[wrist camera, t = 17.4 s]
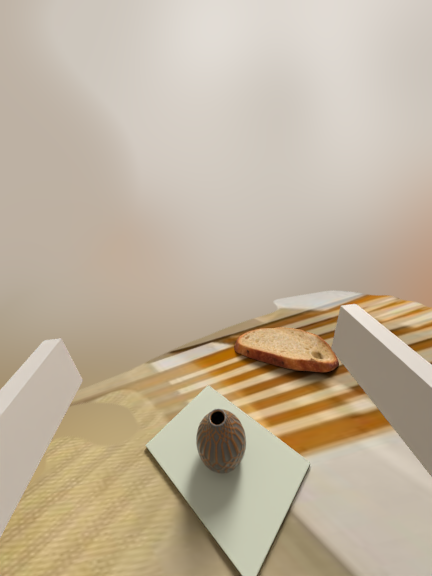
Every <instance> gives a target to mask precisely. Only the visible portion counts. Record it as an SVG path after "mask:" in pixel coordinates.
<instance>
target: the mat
mask: <svg viewBox="0 0 432 576" xmlns="http://www.w3.org/2000/svg"><path fill="white" fill-rule="evenodd" d="M215 409H223V410H227V411H230V412H231V413H233V414H234V415H235V416H236V417H237V418H238V419H239V421H240V422H241V424H242V426H243V428H244V431H245V436H246V450H245V454H244V457H243V459H242V461H241V462H240V464H239V465H238V466H237V467H236V468H235V469H234V470H232V471H231V472H228V473H216V472H213V471H212V470H210V469H209V468H207V467H206V466H205V464H204V463H203V462H202V460H201V458H200V456H199V454H198V450H197V445H196V435H197V430H198V427H199V424H200V422H201V421H202V419H203V418H204V417H205V416H206V415H207V414H208V413H209V412H211V411H213V410H215ZM146 447H147V448H148V450H149V451H150V453H151V454H152V455H153V457H154V458H155V459H156V461H157V462H158V463H159V465H160V466H161V467H162V469H163V470H164V471H165V473H166V474H167V475H168V477H169V478H170V479H171V481H172V482H173V484H174V485H175V486H176V488H177V489H178V490H179V492H180V493H181V494H182V496H183V497H184V498H185V500H186V501H187V502H188V504H189V505H190V506H191V508H192V509H193V510H194V512H195V513H196V515H197V516H198V517H199V519H200V520H201V521H202V523H203V524H204V525H205V527H206V528H207V529H208V531H209V532H210V533H211V535H212V536H213V537H214V539H215V540H216V541H217V543H218V544H219V546H220V547H221V548H222V550H223V551H224V552H225V554H226V555H227V556H228V558H229V559H230V560H231V562H232V563H233V564H234V566H235V567H236V568H237V570H238V571H239V572H240V574H241V575H242V576H257V575H258V573H259V571H260V568H261V566H262V564H263V562H264V560H265V558H266V556H267V554H268V552H269V550H270V547H271V545H272V543H273V541H274V539H275V537H276V535H277V533H278V531H279V529H280V526H281V524H282V522H283V520H284V518H285V516H286V514H287V512H288V510H289V508H290V505H291V503H292V501H293V499H294V497H295V495H296V493H297V491H298V489H299V487H300V484H301V482H302V480H303V478H304V476H305V474H306V472H307V470H308V468H309V466H310V462H309V461H307V460H306V459H305V458H304V457H302V456H301V455H300V454H298V453H297V452H296V451H294V450H293V449H292V448H290V447H289V446H288V445H286V444H285V443H284V442H282V441H281V440H280V439H279V438H277V437H276V436H275V435H273V434H272V433H271V432H269V431H268V430H267V429H265V428H264V427H263V426H261V425H260V424H259V423H257V422H256V421H255V420H254V419H252V418H251V417H250V416H248V415H247V414H246V413H244V412H243V411H242V410H240V409H239V408H238V407H236V406H235V405H234V404H232V403H231V402H230V401H229V400H227V399H226V398H225V397H223V396H222V395H221V394H219V393H218V392H217V391H215V390H214V389H213V388H211V387H210V386H209V385H208V386H207V387H206V388H205V389H204V390H203V391H202V392H200V393H199V394H198V395H197V396H196V397H195V398H194V399H193V400H192V401H191V402H190V403H189V404H188V405H187V406H186V407H185V408H184V409H183V410H182V411H181V412H180V413H179V414H178V415H176V416H175V417H174V418H173V419H172V420H171V421H170V422H169V423H168V424H167V425H166V426H165V427H164V428H163V429H162V430H161V431H160V432H159V433H158V434H157V435H156V436H155V437H154V438H152V439H151V440H150V441H149V442H148V443H147V444H146Z"/></svg>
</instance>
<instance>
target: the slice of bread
mask: <svg viewBox="0 0 432 576" xmlns="http://www.w3.org/2000/svg"><path fill="white" fill-rule="evenodd" d="M234 348H235V351H236V352H237V353H239V354H242V355H244V356H246V357H248V358H251V359H255V360H257V361H262V362H265V363H269V364H272V365H275V366H280V367H283V368H288V369H293V370H298V371H312V372H329V371H332V370H334V369H335V368H336V367H338V366H339V362H338V360H337V357H336V355H335V353H334V352H333V350H332V349H331V347H330V346H329V345H328V344H327V343H326V342H325V341H324V340H323V339H322V338H320V337H319V336H317V335H315V334H312V333H309V332H305V331H302V330H299V329H293V328H282V327H277V328H273V329H257V330H253V331H250V332H247V333H245V334H243V335H241V336H240V337H239V338H238V339H237V341H236V343H235V346H234Z"/></svg>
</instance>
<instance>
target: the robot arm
mask: <svg viewBox="0 0 432 576" xmlns="http://www.w3.org/2000/svg"><path fill="white" fill-rule="evenodd" d="M331 349H332V350H333V352H334V353H335V354H336V356H337V357H338V358H339V359H340V361H341V362H342V363H343V364H344V366H345V367H346V368H347V370H348V371H349V372H350V373H351V375H352V376H353V377H354V378H355V380H356V381H357V382H358V384H359V385H360V386H361V387H362V389H363V390H364V391H365V392H366V394H367V395H368V396H369V398H370V399H371V400H372V401H373V403H374V404H375V405H376V406H377V408H378V409H379V410H380V412H381V413H382V414H383V415H384V417H385V418H386V419H387V420H388V422H389V423H390V424H391V426H392V427H393V428H394V429H395V431H396V432H397V433H398V434H399V436H400V437H401V438H402V439H403V441H404V442H405V443H406V445H407V446H408V447H409V448H410V450H411V451H412V452H413V453H414V455H415V456H416V457H417V459H418V460H419V461H420V462H421V464H422V465H423V466H424V467H425V469H426V470H427V471H428V473H429V474H430V475H431V476H432V365H431V364H430V363H429V362H427V361H426V360H425V359H424V358H423V357H421V356H420V355H419V354H418V353H416V352H415V351H414V350H413V349H411V348H410V347H409V346H408V345H406V344H405V343H404V342H403V341H401V340H400V339H399V338H398V337H396V336H395V335H394V334H393V333H391V332H390V331H389V330H388V329H387V328H385V327H384V326H383V325H382V324H380V323H379V322H378V321H377V320H375V319H374V318H373V317H372V316H370V315H369V314H368V313H367V312H365V311H364V310H363V309H362V308H360V307H359V306H358V305H357V304H352V305H344V306H341V308H340V312H339V317H338V321H337V326H336V330H335V335H334V339H333V344H332V348H331ZM81 383H82V378H81V376H80V374H79V372H78V370H77V368H76V366H75V364H74V362H73V360H72V358H71V357H70V354H69V353H68V351H67V349H66V347H65V345H64V343H63V341H62V339H53V340H44V341H43V342H42V343H41V344H40V346H39V347H38V348H37V349H36V350H35V351H34V353H33V354H32V355H31V356H30V357H29V358H28V359H27V360H26V362H25V363H24V364H23V365H22V366H21V367H20V368H19V369H18V371H17V372H16V373H15V374H14V375H13V376H12V378H11V379H10V380H9V381H8V382H7V383H6V384H5V385H4V387H3V388H2V389H1V390H0V537H1V535H2V533H3V531H4V529H5V527H6V525H7V524H8V522H9V520H10V518H11V516H12V514H13V512H14V510H15V508H16V506H17V505H18V503H19V501H20V499H21V497H22V495H23V493H24V491H25V489H26V487H27V486H28V484H29V482H30V480H31V478H32V476H33V474H34V472H35V470H36V468H37V466H38V465H39V463H40V461H41V459H42V457H43V455H44V453H45V451H46V449H47V447H48V446H49V444H50V442H51V440H52V438H53V436H54V434H55V432H56V430H57V428H58V426H59V425H60V423H61V421H62V419H63V417H64V415H65V413H66V411H67V409H68V407H69V406H70V404H71V402H72V400H73V398H74V396H75V394H76V392H77V390H78V388H79V387H80V385H81Z"/></svg>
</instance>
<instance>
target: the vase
mask: <svg viewBox="0 0 432 576" xmlns="http://www.w3.org/2000/svg"><path fill="white" fill-rule="evenodd" d="M196 445H197V450H198V454H199V456H200V458H201V460H202V462H203V463H204V464H205V466H206V467H207V468H209V469H210V470H212V471H213V472H216V473H228V472H231V471H232V470H234V469H235V468H236V467H237V466H238V465H239V464H240V462H241V461H242V459H243V457H244V454H245V450H246V436H245V431H244V428H243V426H242V424H241V422H240V421H239V419H238V418H237V417H236V416H235V415H234V414H233V413H231V412H230V411H227V410H223V409H215V410H213V411H211V412H209V413H208V414H207V415H206V416H205V417H204V418H203V419H202V421H201V422H200V424H199V427H198V430H197V435H196Z"/></svg>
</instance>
